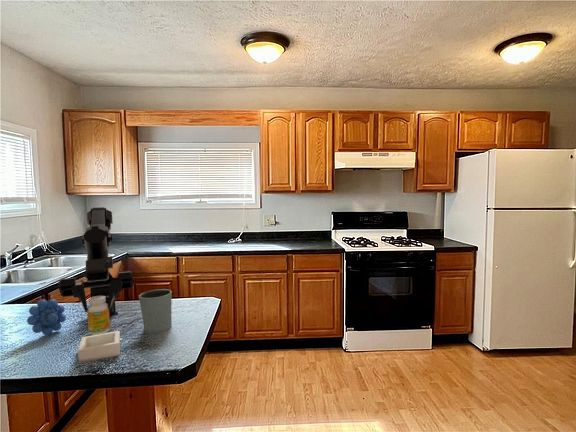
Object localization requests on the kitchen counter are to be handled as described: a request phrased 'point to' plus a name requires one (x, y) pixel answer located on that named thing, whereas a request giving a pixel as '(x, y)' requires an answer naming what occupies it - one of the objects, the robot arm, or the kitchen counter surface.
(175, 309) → the kitchen counter surface
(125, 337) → the kitchen counter surface
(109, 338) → the cream square tray
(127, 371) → the kitchen counter surface
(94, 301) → the supplement bottle
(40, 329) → the grapes
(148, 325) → the grey green cup
